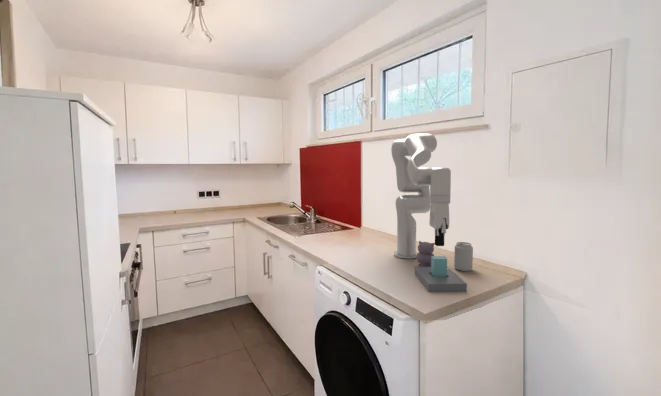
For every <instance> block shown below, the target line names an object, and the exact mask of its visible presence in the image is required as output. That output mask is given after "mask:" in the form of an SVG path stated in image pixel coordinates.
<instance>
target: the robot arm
mask: <svg viewBox="0 0 661 396" xmlns="http://www.w3.org/2000/svg"><path fill="white" fill-rule="evenodd" d="M437 146H438V141H437V138H436V136H435V135H434V134H433V133H411V134H410V135H408V136H406V138H402V139H396V140H394V141H393V142H392V144H391V149H390V150H391V157H392V160H393V162H394V166H395V174H396V184H397V185H396V186H397V190H398V192H400V193H404V194H403V195H399V196H398V197H396V199H395V210H396V219H397V220H396V221H397V223H396V224H397V227H396V232H397V233H396V236H397V239H396V241H397V242H396V243H397V245H396V251H394V252H393V254H394V257H396V258H398V259H406V260H407V259H410V260H412V259H416V255H417V254H418V253H419V252H417V221H416V219H415V218H414V217H413V214H426V213H428V212H429V224H428V225H429V226H430V227H432V228H433V229H434V243H435V244H434V246H436V247H444V246H445V236H446V234H447V230H448V229H450V204H451V186H452V184H451V183H452V180H451V179H452V176H451V175H452V170H451V169H450V168H449V167H439V166H438V167H436V166H435V167H433V166H427V167H426V166H425V167H421V166H424V165H425V164H427V163H428V162H430V159H431V157H432V153H433V152H434V151H436V149H437ZM408 157H410V159H408ZM405 193H418V194H405Z"/></svg>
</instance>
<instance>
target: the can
mask: <svg viewBox="0 0 661 396" xmlns="http://www.w3.org/2000/svg"><path fill="white" fill-rule="evenodd" d="M473 257H474V247H473V246H472V243H470V242H467V241H458V242H456V244H455V245H454V262H453V267H454V269H456V270H457V271H459V272H471V271H472V270H473V264H474V263H473V262H474V261H473V259H474V258H473Z"/></svg>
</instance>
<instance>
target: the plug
mask: <svg viewBox="0 0 661 396" xmlns="http://www.w3.org/2000/svg"><path fill="white" fill-rule="evenodd" d="M447 267H448V258H446V257H445V256H444V255H434V256H431V276H432V277H447Z"/></svg>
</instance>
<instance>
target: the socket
mask: <svg viewBox="0 0 661 396" xmlns="http://www.w3.org/2000/svg"><path fill="white" fill-rule="evenodd" d="M414 276H416V278H417V279H418V280H419V281H420V283H421V284H422V285H423V287H424V288H425V290H427V292H428V293H435V292H438V293H439V292H440V293H444V292H446V293H447V292H448V293H450V292H452V293H455V292H456V293H457V292H458V293H459V292H467V290H468V289H467V286H468V283H467V282H466V281H465V280H463V278H462V277H460V275H457V273H455V272H454V271H453V270H452V269H451V268H449V266H447V277H432V276H431V267H419V266H414Z"/></svg>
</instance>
